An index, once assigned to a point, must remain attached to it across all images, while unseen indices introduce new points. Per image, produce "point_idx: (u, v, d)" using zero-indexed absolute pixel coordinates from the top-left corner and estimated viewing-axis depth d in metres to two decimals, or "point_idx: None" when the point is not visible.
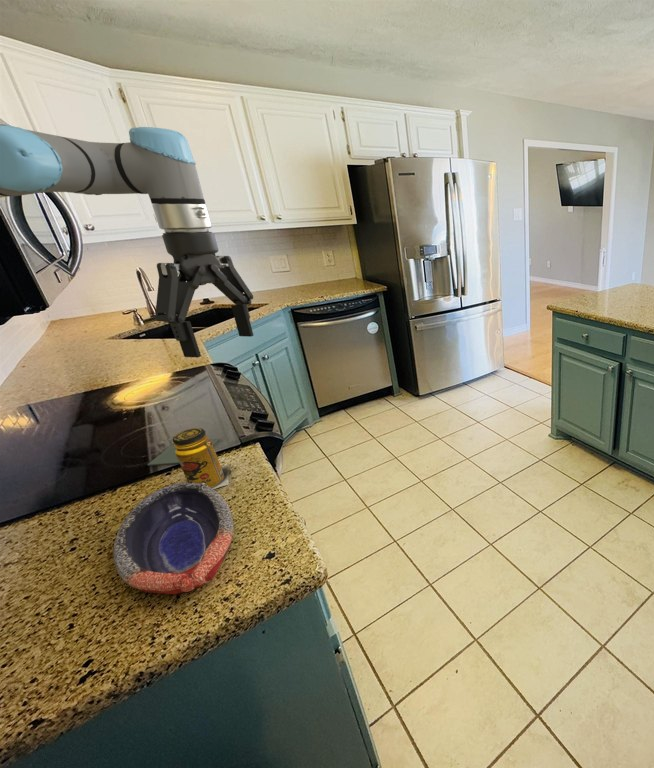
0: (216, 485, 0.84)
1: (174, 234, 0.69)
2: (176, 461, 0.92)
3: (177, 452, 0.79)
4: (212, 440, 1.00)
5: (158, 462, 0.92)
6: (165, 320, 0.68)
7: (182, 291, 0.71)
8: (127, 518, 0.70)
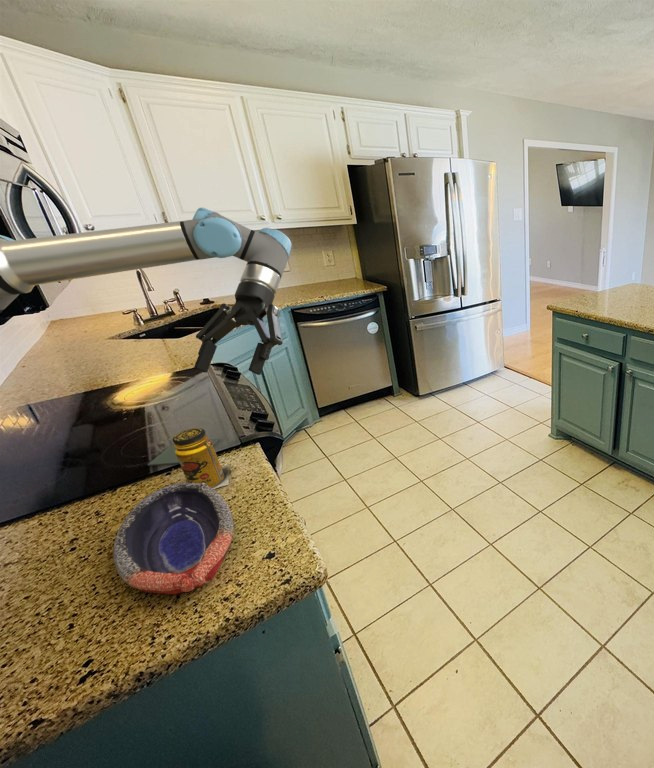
0: (216, 485, 0.84)
1: (272, 292, 0.96)
2: (176, 461, 0.92)
3: (177, 452, 0.79)
4: (212, 440, 1.00)
5: (158, 462, 0.92)
6: (279, 342, 0.90)
7: (263, 326, 0.92)
8: (127, 518, 0.70)
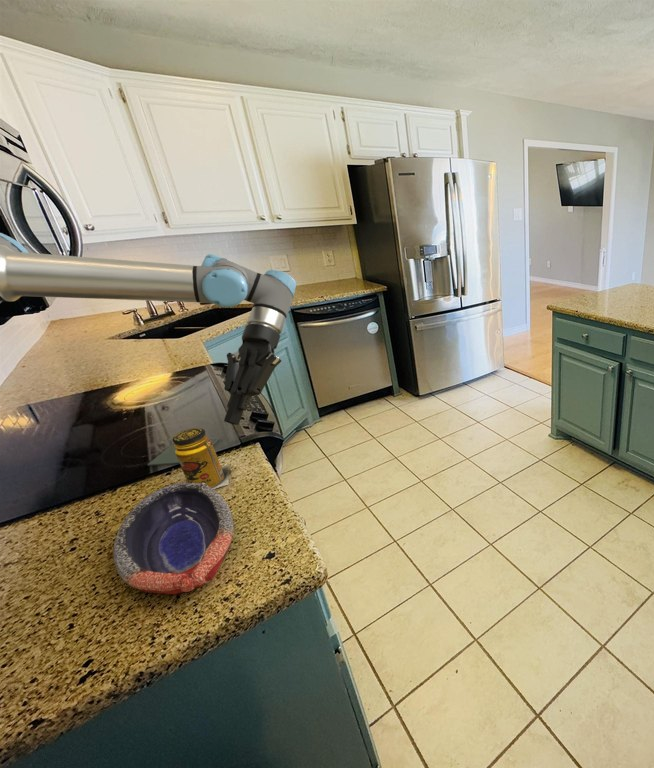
0: (216, 485, 0.84)
1: (278, 333, 0.99)
2: (176, 461, 0.92)
3: (177, 452, 0.79)
4: (212, 440, 1.00)
5: (158, 462, 0.92)
6: (257, 393, 0.93)
7: (256, 373, 0.95)
8: (127, 518, 0.70)
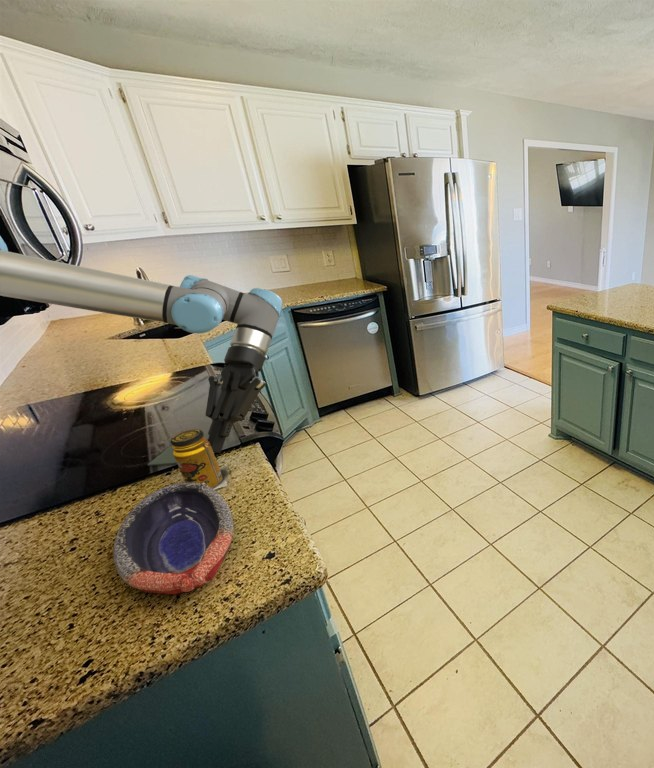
0: (214, 486, 0.84)
1: (263, 354, 0.95)
2: None
3: (175, 453, 0.79)
4: None
5: (158, 462, 0.92)
6: (240, 419, 0.89)
7: (239, 397, 0.91)
8: (127, 518, 0.70)
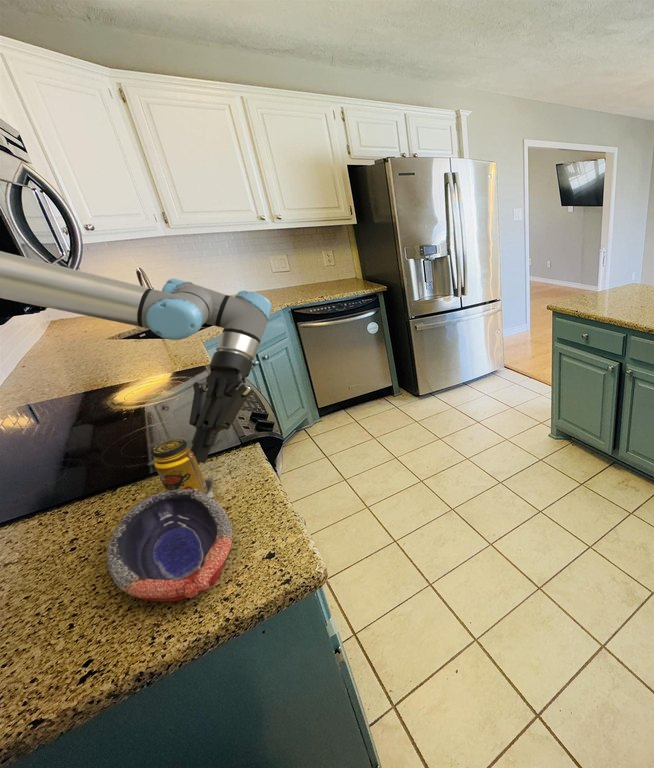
0: None
1: (250, 360, 0.91)
2: None
3: (157, 465, 0.75)
4: None
5: None
6: (225, 427, 0.85)
7: (225, 405, 0.87)
8: (118, 527, 0.68)
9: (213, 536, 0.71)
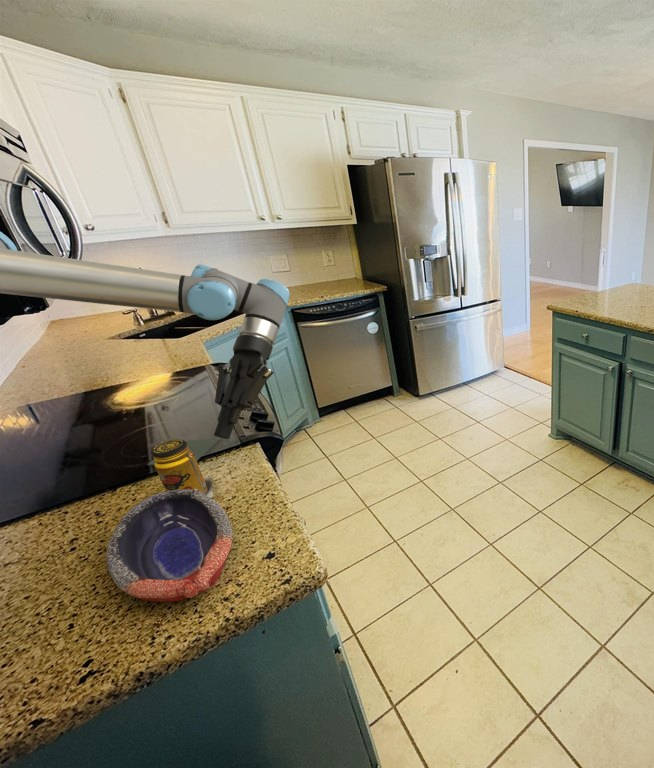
0: None
1: (270, 344, 0.97)
2: None
3: (157, 465, 0.75)
4: (212, 440, 1.00)
5: None
6: (248, 406, 0.91)
7: (248, 385, 0.93)
8: (117, 527, 0.68)
9: (213, 536, 0.71)
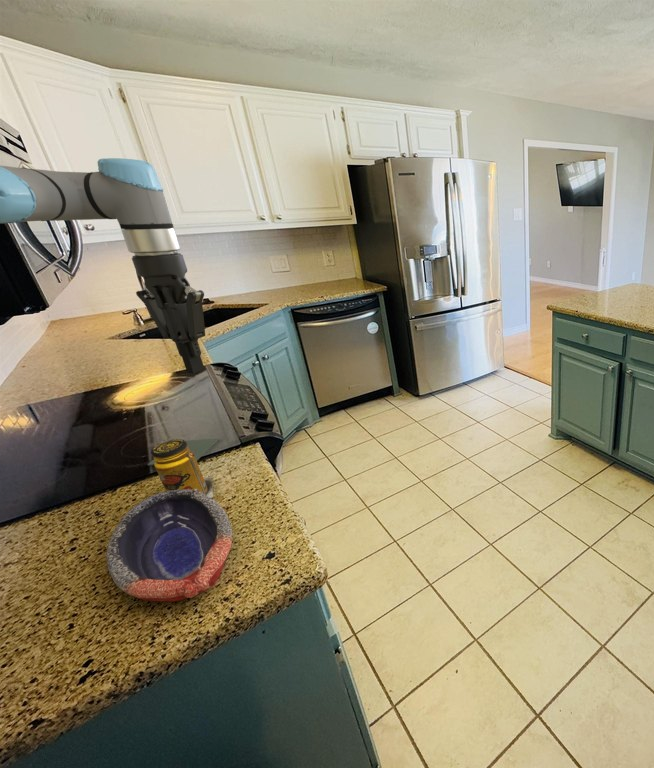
0: None
1: (177, 255, 0.76)
2: None
3: (157, 465, 0.75)
4: (212, 440, 1.00)
5: None
6: (201, 336, 0.82)
7: (185, 313, 0.80)
8: (117, 527, 0.68)
9: (213, 536, 0.71)
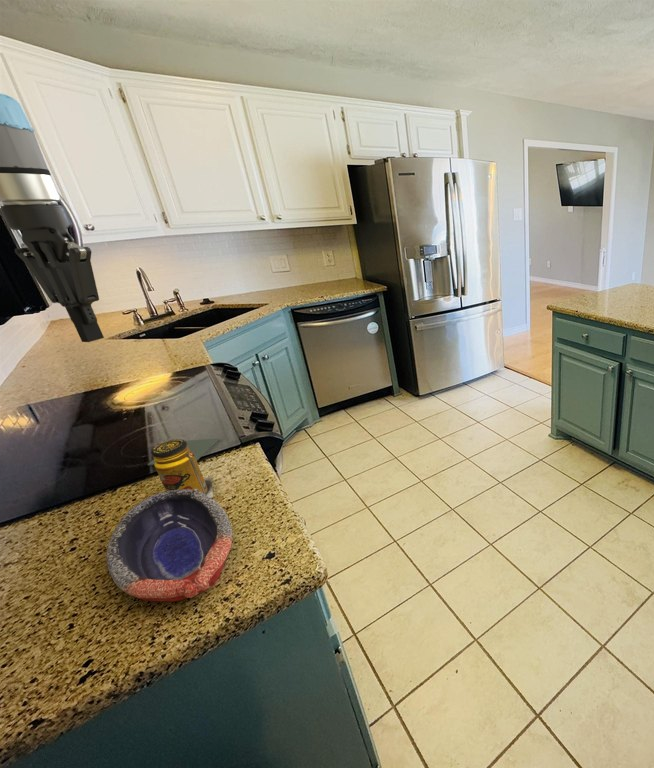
0: None
1: (55, 206, 0.68)
2: None
3: (157, 465, 0.75)
4: (212, 440, 1.00)
5: None
6: (94, 300, 0.74)
7: None
8: (117, 527, 0.68)
9: (213, 536, 0.71)
